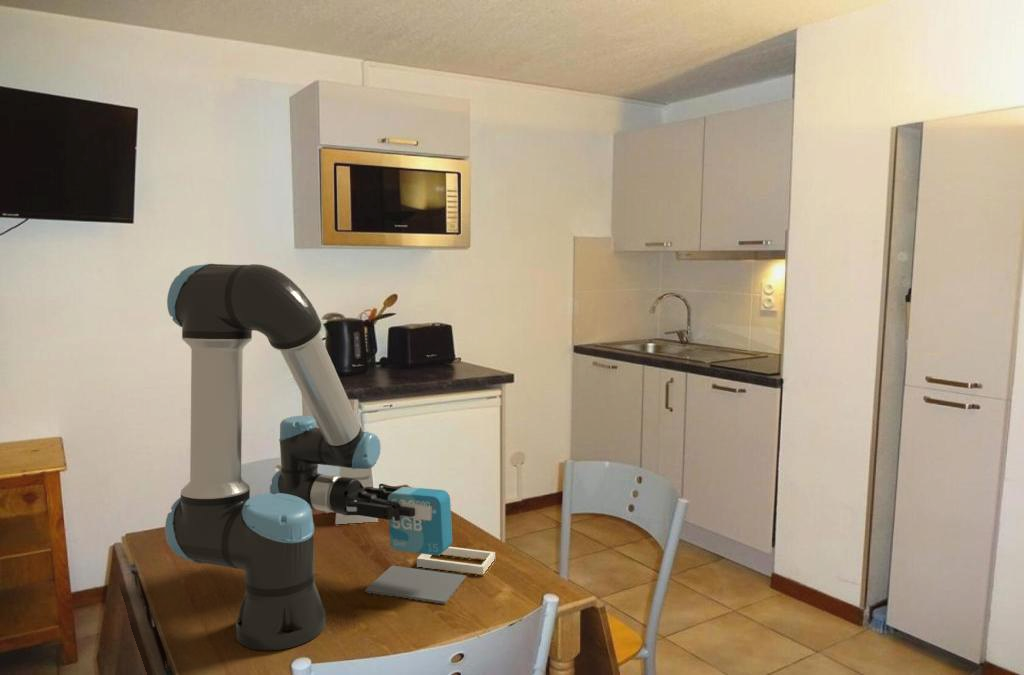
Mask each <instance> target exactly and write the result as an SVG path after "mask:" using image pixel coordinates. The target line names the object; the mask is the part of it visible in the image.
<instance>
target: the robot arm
mask: <svg viewBox="0 0 1024 675" xmlns="http://www.w3.org/2000/svg"><path fill="white" fill-rule="evenodd" d="M166 304H167V310H168V314H169V317H172V319H171V320H172V322H174V324H176V325H177V326H179V327H180V328H181V332H182V333H181V334H182V336H181V340H182V341H183V342H185V344H186V345H188V346H189V347H190V349H191V358H190V362H191V363H190V364H191V366H190V367H191V370H190V371H191V372H190V374H191V375H190V376H191V377H190V378H191V379H190V450H189V451H190V459H189V460H190V461H189V465H190V466H189V467H190V469H189V482H188V483H186V485H185V486H184V487H182V488H181V490H180V497H179V498H178V499H176V501H175V502H174V503H173V504H172V505H171V507H170V509H171V511H170V512H168V513H167V516H166V520H165V526H164V529H165V530H164V531H165V532H164V533H165V538H166V541H167V544H168V546H169V548H170V549H171V551H172V552H173V553H174V554H175V555H176V556H177V557H179V558H182V559H184V560H187V561H191V562H193V563H195V564H203V565H204V564H205V565H206V564H207V565H214V566H217V567H218V566H220V567H225V568H226V567H227V568H233V569H239V570H243V571H244V580H245V581H244V582H245V590H244V595H243V599H242V602H241V605H240V607H239V608H240V609H239V612H238V615H237V618H236V622H235V636H236V640H237V641H238V643H239V644H241V645H242V646H244V647H246V648H247V649H251V650H255V651H256V650H257V651H280V650H287V649H291V648H295V647H298V646H301V645H303V644H305V643H308V642H309V641H311V640H313V639H315V638H316V637H317V636H319V635H320V634H321V633H322V631H323V630H324V629H325V627H326V610H325V606H324V605H323V603H322V599H321V597H320V594H319V591H318V588H317V586H316V583H315V582H316V581H315V550H314V549H315V548H314V547H315V543H314V541H315V538H314V532H315V523H314V519H313V510H315V511H322V512H325V513H326V514H328V513H335V514H336V513H339V514H343V515H346V516H347V515H360V516H367V517H373V518H378V519H380V520H387V521H389V520H391V519H392V516H393V517H395V521H399V520H400V515H401V516H402V517H409V518H415V519H422V520H428V521H431V520H432V506H427V505H420V504H413V503H406V502H402V503H401V506H400V504H399V503H395V502H391V501H388V496H389V495H390V494H391V493H393V492H395V491H396V490H398V489H400V488H401V487H399V486H393V485H388V484H385V483H380V484H378V487H375V488H373V487H365V488H364V487H363V486H362V484H361V482H360V481H359V480H358V479H355V478H347V477H340V476H339V475H333V474H324V473H319V472H318V467H319V465H322V466H331V467H339V468H340V467H346V468H352V469H356V468H358V469H369V468H372V469H373V467H374V466H375V465H376V464H377V461H379V458H380V454H381V448H382V447H381V440H380V438H379V436H378V435H377V434H376V433H372V432H369V431H363V430H362V427H361V425H360V422H359V421H358V419H357V416H356V414H355V410H354V409H353V407H352V404H351V402H350V400H349V398H348V395H347V393H346V391H345V389H344V388H345V387H344V386H343V384H342V382H341V379H340V377H339V375H338V373H337V370H336V368H335V365H334V363H333V361H332V358H331V356H330V355H329V353H328V350H327V348H326V346H325V343H324V341H323V339H322V338H323V337H321V334H320V333H321V332H322V328H323V326H322V325H323V324H322V322H321V320H320V318H319V315H318V312H317V311H316V309H315V307H314V304H313V303H312V301H310V299H309V298H308V297H307V296H306V293H304V292H303V290H302V289H301V288H300V287H299V286H298V285H297V283H295V282H294V281H293V280H292V279H291V278H289V277H288V276H287V275H285V274H284V273H282V272H281V271H279V269H276V268H274V267H272V266H269V265H265V264H254V263H253V264H226V263H221V264H219V263H204V264H196V265H191V266H188V267H187V268H184V269H183V270H181V271H180V273H179V274H178V275H176V277H175V278H174V279H173V281H172V282H171V284H170V286H169V288H168V293H167V298H166ZM253 331H255V332H259V333H260V334H262V335H264V336H265V337H266V339H267V340H268V342H269V344H270V346H271V347H272V348H274V349H275V350H278V351H280V353H281V355H282V357H283V359H284V361H285V363H286V364H287V367H288V369H289V371H290V373H291V375H292V376H293V379H294V381H295V383H296V385H297V386H298V389H299V391H300V394H301V395H302V397H303V399H304V401H305V402H306V405H307V406H308V409H309V411H310V413H311V415H312V416H310V415H294V416H289V417H286V418H284V419H283V420H282V421H280V423H279V439H278V440H279V452H280V466H281V467H280V468H281V469H279V470H278V471H276V472H275V473H274V475H273V476H272V478H271V484H270V485H269V493H262V494H257V495H253V496H251V495H250V491H251V490H250V489H251V488H250V485H249V483H247V482H246V481H245V480H244V479H243V478H242V445H243V444H242V436H243V435H242V434H243V433H242V428H243V421H242V420H243V417H242V416H243V365H244V364H243V363H244V362H243V360H244V359H243V356H244V355H243V353H244V352H243V350H244V348H245V346H246V345H248V344H249V343H250V342H251V341H252V338H253V335H252V334H253ZM250 496H251V497H250Z"/></svg>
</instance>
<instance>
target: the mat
mask: <svg viewBox="0 0 1024 675" xmlns="http://www.w3.org/2000/svg"><path fill="white" fill-rule="evenodd" d="M466 577H467V574H460V573H452V572H445V571H437V570H430V569H423V568H414V567H413V568H412V567H406V566H399V565H398V566H397V565H391V566H390V567H389V568H387V569H386V570H385V571H384V572H383V573H382V574H381V575H380V576H378V578H376V580H374V581H373V582H371V584H370V585H368V586H367V588H365V589H364V593H365V592H368V593H367V594H371V593H373V595H377V594H380V595H379V596H384V595H388V596H387V597H391V596H397V597H396V598H398V597H403V598H402V599H404V598H409V599H408V600H411V599H415V600H414V601H418V600H422V601H421V602H425V601H430V602H429V603H431V602H436V603H435V604H438V603H443V604H442V605H447V603H448V602H449V601H450V599H451V598H452V597H453V595H454V594H455V593H456V592H457V591H456V589H457V588H458V587H459V585H460V584H461V583H462V582H463V580H464V579H465V578H466ZM466 579H467V578H466ZM463 583H464V582H463ZM463 583H462V584H463ZM462 584H461V585H462ZM459 588H460V587H459ZM459 588H458V589H459ZM458 589H457V590H458ZM455 591H456V592H455ZM454 592H455V593H454ZM453 593H454V594H453ZM451 596H452V597H451ZM450 597H451V598H450ZM449 598H450V599H449ZM447 601H448V602H447ZM446 602H447V603H446Z"/></svg>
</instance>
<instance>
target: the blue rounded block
mask: <svg viewBox="0 0 1024 675" xmlns="http://www.w3.org/2000/svg"><path fill="white" fill-rule="evenodd" d="M450 496H451V495H450V494H449V492H448V491H447V490H444V489H436V488H435V489H434V488H425V487H424V488H422V487H413V486H402V487H401V488H400V489H398V490H396V491H395V492H393V493H391V494H390V495H389V496H388V501H391V502H395V503H399V504H400V506H401V503H402V502H406V503H413V504H420V505H427V506H432V520H431V521H428V520H422V519H415V518H409V517H402V516H401V515H400V520H399V521H395V517H393V516H392V519H391V520H388V528H389V543H390V546H391V549H393V550H394V551H398V552H403V553H404V552H405V553H413V554H420V555H421V554H429V555H433V556H440V554H441V553H443V552H444V551H445V550H446V549H447V548H448V547H452V544H453V529H452V528H453V526H452V510H451V509H452V507H451V506H452V505H451V497H450Z"/></svg>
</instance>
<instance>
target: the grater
mask: <svg viewBox="0 0 1024 675" xmlns="http://www.w3.org/2000/svg"><path fill="white" fill-rule="evenodd" d="M373 469H374V468H373V467H372V468H369V469H358V468H356V469H352V468H346V467H339V475H338V476H340V477H347V478H355V479H358V480H359V481H360V482H361V484H362V486H363V487H364V488H365V487H373V488H376V487H375V479H374V470H373ZM363 522H378V523H379V518H373V517H367V516H360V515H345V514H339V513H335V522H334V525H335V524H347V523H363Z"/></svg>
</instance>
